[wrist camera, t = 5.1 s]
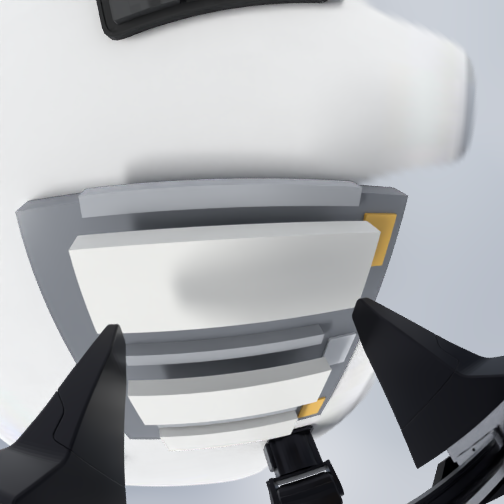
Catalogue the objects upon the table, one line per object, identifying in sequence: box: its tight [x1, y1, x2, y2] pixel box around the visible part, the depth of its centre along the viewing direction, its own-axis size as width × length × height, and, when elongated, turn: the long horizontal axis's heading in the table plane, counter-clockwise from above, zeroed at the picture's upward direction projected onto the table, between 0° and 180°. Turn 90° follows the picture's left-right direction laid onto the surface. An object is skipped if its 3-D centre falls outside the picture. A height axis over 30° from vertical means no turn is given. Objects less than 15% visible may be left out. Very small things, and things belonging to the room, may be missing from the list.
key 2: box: [69, 221, 381, 334], centre depth 12 cm, size 13×4×1 cm, turn 86°
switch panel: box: [16, 178, 408, 439], centre depth 19 cm, size 22×27×2 cm
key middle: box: [128, 357, 332, 425], centre depth 17 cm, size 13×4×1 cm, turn 86°
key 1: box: [159, 410, 298, 451], centre depth 23 cm, size 13×4×1 cm, turn 86°
